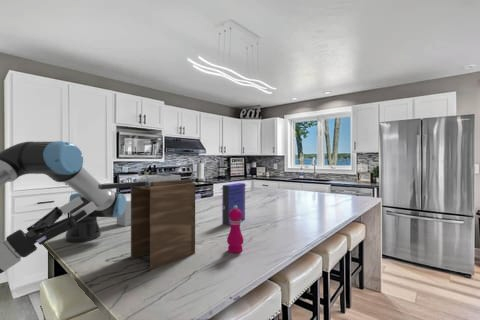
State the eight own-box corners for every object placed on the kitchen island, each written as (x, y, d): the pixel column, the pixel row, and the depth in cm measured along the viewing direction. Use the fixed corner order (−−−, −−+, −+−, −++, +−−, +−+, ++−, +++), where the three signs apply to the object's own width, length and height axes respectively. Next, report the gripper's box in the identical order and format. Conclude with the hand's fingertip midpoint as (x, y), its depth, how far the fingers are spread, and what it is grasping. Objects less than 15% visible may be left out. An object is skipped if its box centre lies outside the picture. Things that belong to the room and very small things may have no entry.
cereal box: (239, 218, 165) (239, 182, 164) (244, 219, 162) (245, 183, 161) (222, 224, 150) (222, 185, 150) (228, 225, 148) (228, 185, 147)
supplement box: (138, 223, 151) (138, 198, 151) (125, 226, 144) (125, 201, 144) (129, 221, 156) (129, 197, 156) (116, 224, 149) (116, 199, 148)
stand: (130, 256, 102) (130, 180, 101) (172, 243, 117) (173, 177, 116) (151, 268, 91) (151, 183, 90) (195, 253, 105) (195, 179, 105)
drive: (94, 187, 88) (94, 175, 88) (167, 181, 110) (167, 172, 110) (105, 190, 82) (105, 177, 82) (180, 183, 104) (180, 173, 103)
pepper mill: (237, 255, 104) (238, 207, 103) (223, 251, 108) (224, 205, 107) (246, 249, 110) (246, 204, 110) (233, 246, 114) (233, 203, 113)
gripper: (10, 250, 59) (94, 197, 73) (-1, 229, 76) (70, 189, 89) (30, 272, 62) (108, 216, 76) (16, 247, 78) (81, 205, 92)
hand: (87, 201), depth 82 cm, fingers open, 13 cm apart
